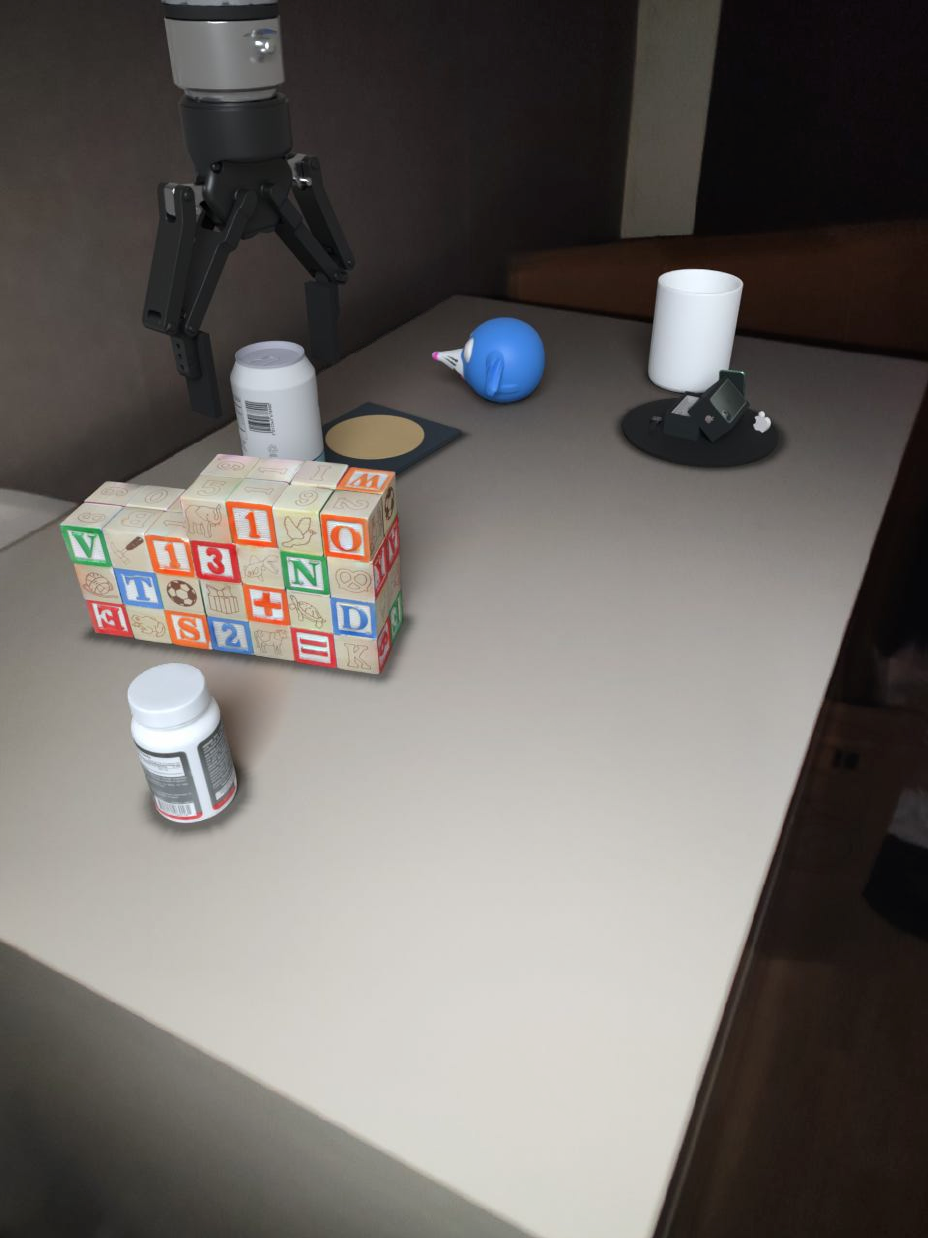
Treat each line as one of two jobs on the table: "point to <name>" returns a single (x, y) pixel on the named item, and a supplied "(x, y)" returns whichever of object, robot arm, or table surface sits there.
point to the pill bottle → (181, 742)
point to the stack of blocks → (248, 561)
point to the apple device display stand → (703, 426)
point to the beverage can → (277, 402)
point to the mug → (693, 328)
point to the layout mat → (382, 438)
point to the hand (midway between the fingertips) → (270, 385)
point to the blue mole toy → (499, 360)
